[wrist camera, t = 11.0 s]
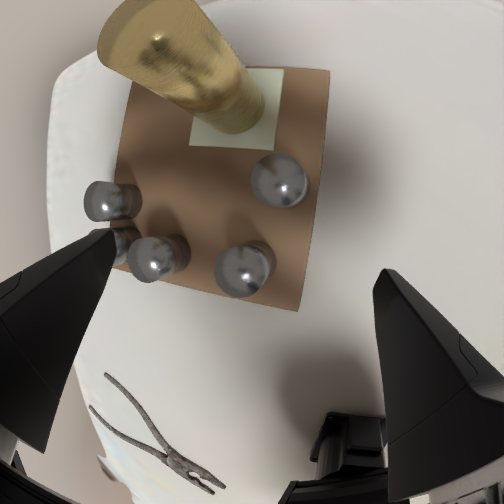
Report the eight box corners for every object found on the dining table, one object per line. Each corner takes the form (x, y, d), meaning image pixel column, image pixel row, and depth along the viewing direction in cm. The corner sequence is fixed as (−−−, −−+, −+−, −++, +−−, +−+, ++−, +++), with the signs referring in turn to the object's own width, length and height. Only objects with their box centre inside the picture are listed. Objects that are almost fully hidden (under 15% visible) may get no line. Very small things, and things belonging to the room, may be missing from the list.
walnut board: (299, 307, 22) (297, 313, 20) (114, 264, 26) (105, 267, 24) (330, 76, 19) (329, 69, 17) (139, 80, 23) (131, 76, 22)
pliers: (92, 364, 28) (247, 464, 25) (97, 361, 29) (249, 459, 25) (87, 412, 30) (216, 497, 27) (90, 409, 31) (218, 493, 28)
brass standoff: (252, 141, 20) (157, 72, 8) (198, 126, 21) (82, 68, 9) (273, 87, 19) (208, -20, 7) (219, 75, 20) (126, -12, 8)
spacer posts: (293, 297, 21) (283, 316, 17) (112, 256, 24) (80, 263, 21) (312, 167, 19) (307, 156, 15) (121, 155, 23) (90, 148, 19)
